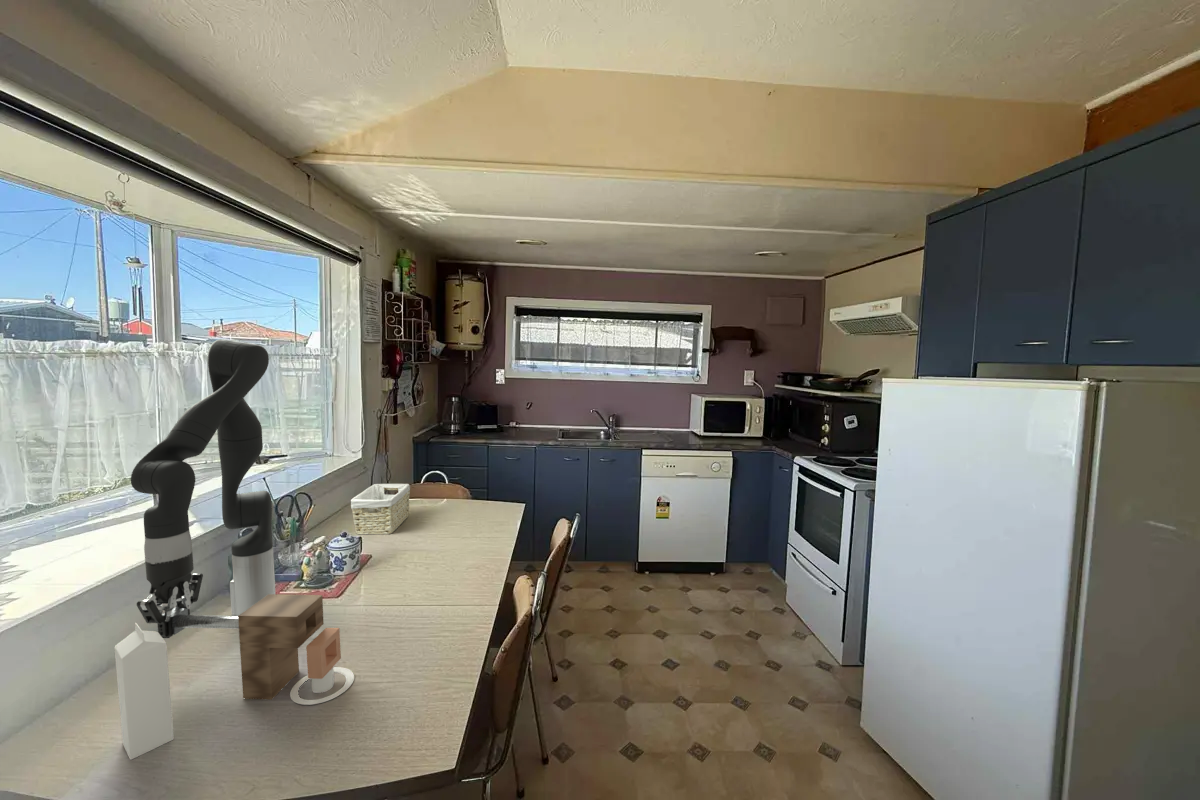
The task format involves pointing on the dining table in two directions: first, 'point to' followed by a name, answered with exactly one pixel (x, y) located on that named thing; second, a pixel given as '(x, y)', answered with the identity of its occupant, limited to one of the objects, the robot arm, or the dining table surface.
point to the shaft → (200, 620)
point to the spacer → (323, 653)
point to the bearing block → (275, 641)
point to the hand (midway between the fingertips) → (175, 631)
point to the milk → (143, 692)
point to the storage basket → (380, 509)
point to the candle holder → (323, 686)
